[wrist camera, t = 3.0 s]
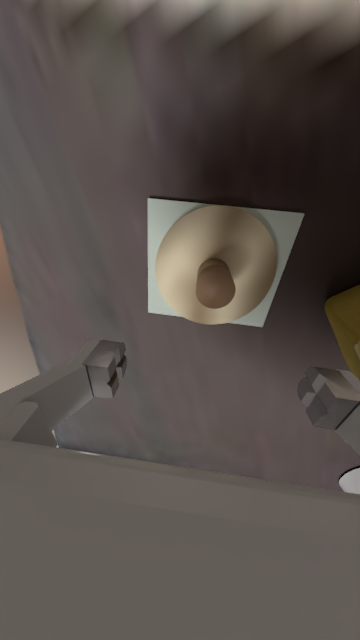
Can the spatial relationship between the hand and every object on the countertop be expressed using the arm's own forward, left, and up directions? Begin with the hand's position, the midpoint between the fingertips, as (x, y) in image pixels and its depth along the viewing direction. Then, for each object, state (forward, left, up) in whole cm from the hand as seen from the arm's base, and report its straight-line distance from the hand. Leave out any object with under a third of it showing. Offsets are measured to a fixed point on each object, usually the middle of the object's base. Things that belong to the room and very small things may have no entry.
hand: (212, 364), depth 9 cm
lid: (0, 0, -14) cm, 14 cm away
